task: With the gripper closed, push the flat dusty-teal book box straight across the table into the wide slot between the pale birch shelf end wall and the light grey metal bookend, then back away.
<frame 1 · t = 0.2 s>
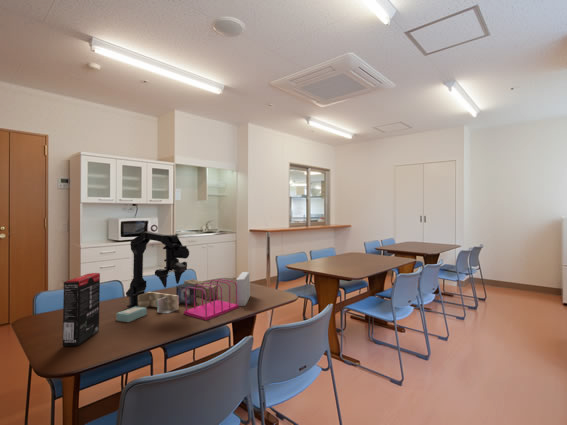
hand: (171, 285, 168), 15 cm above the table, tool pointing down, fingers open, 9 cm apart
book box: (132, 318, 160), on the table
small box: (186, 302, 185), on the table
skincare box: (243, 301, 188), on the table
file sorter: (212, 311, 170), on the table
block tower: (200, 295, 203), on the table
graphics card box: (82, 338, 133), on the table
bookend: (162, 310, 170), on the table
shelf: (162, 307, 176), on the table
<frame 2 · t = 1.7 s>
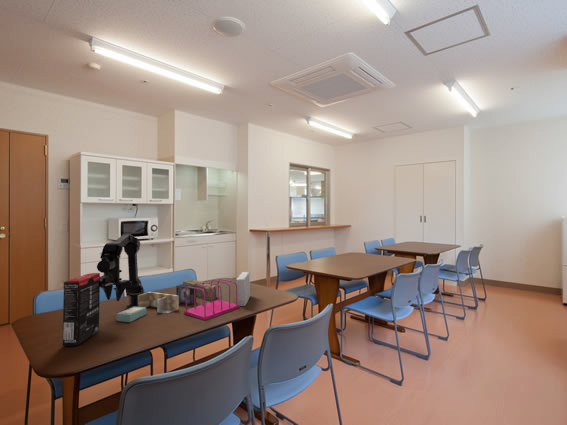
hand: (113, 300, 149), 12 cm above the table, tool pointing down, fingers open, 6 cm apart
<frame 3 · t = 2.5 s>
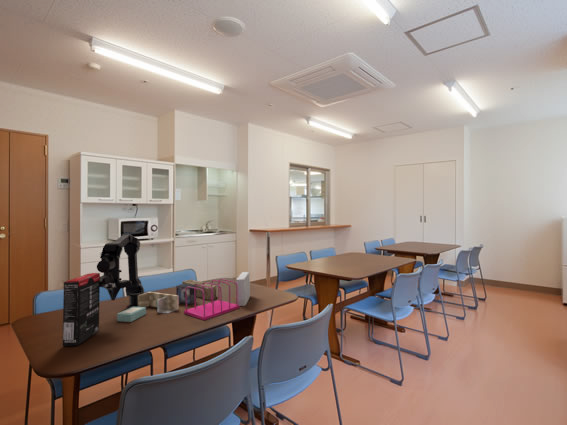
hand: (113, 300, 149), 12 cm above the table, tool pointing down, fingers closed
nothing on the table moved.
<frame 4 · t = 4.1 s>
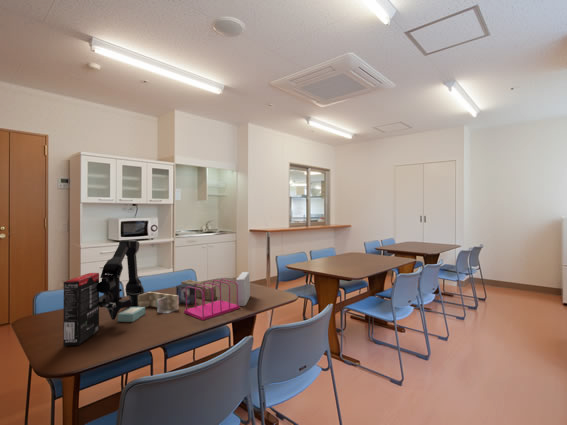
hand: (113, 319, 150), 3 cm above the table, tool pointing down, fingers closed
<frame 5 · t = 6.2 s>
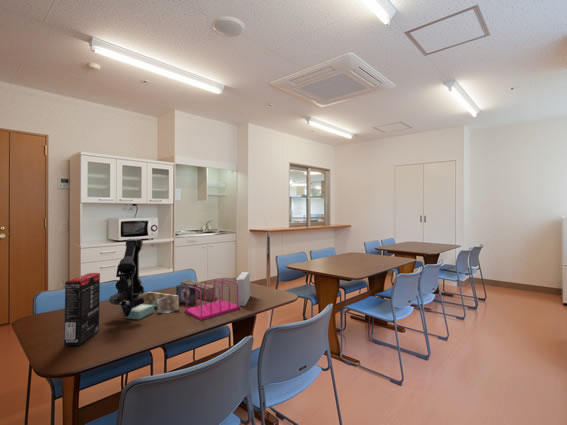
hand: (126, 316, 157), 1 cm above the table, tool pointing down, fingers closed
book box: (140, 315, 163), on the table, touching gripper
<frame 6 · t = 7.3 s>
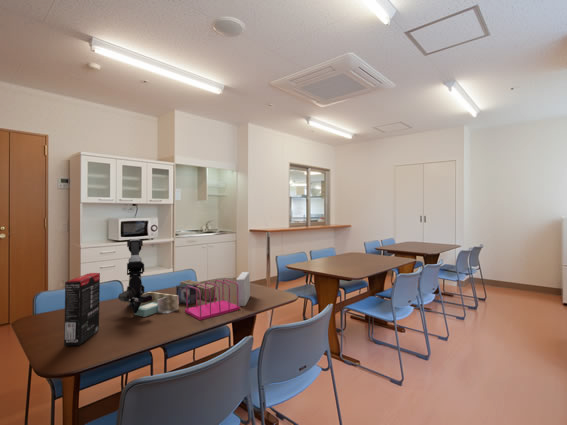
hand: (135, 313, 162), 2 cm above the table, tool pointing down, fingers closed
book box: (149, 313, 168), on the table
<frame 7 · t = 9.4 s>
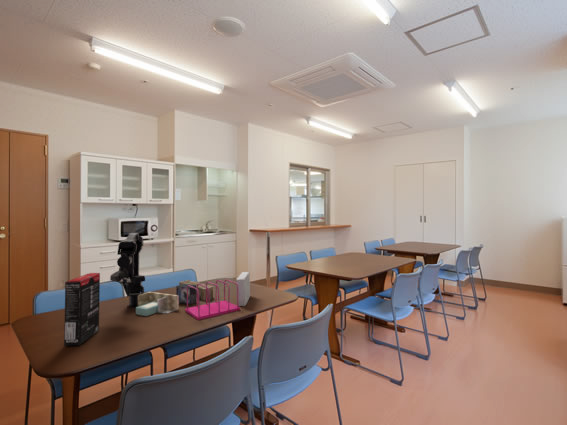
hand: (127, 294, 157), 13 cm above the table, tool pointing down, fingers closed
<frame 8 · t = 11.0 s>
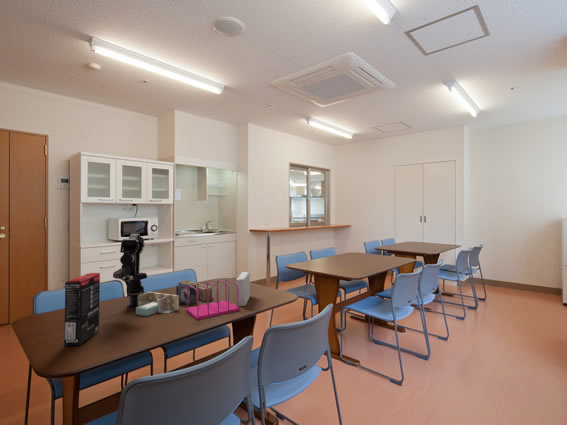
hand: (130, 291, 162), 13 cm above the table, tool pointing down, fingers closed
at the end: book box inside the target area (2.0 cm from its centre), on the table; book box tilted 0° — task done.
